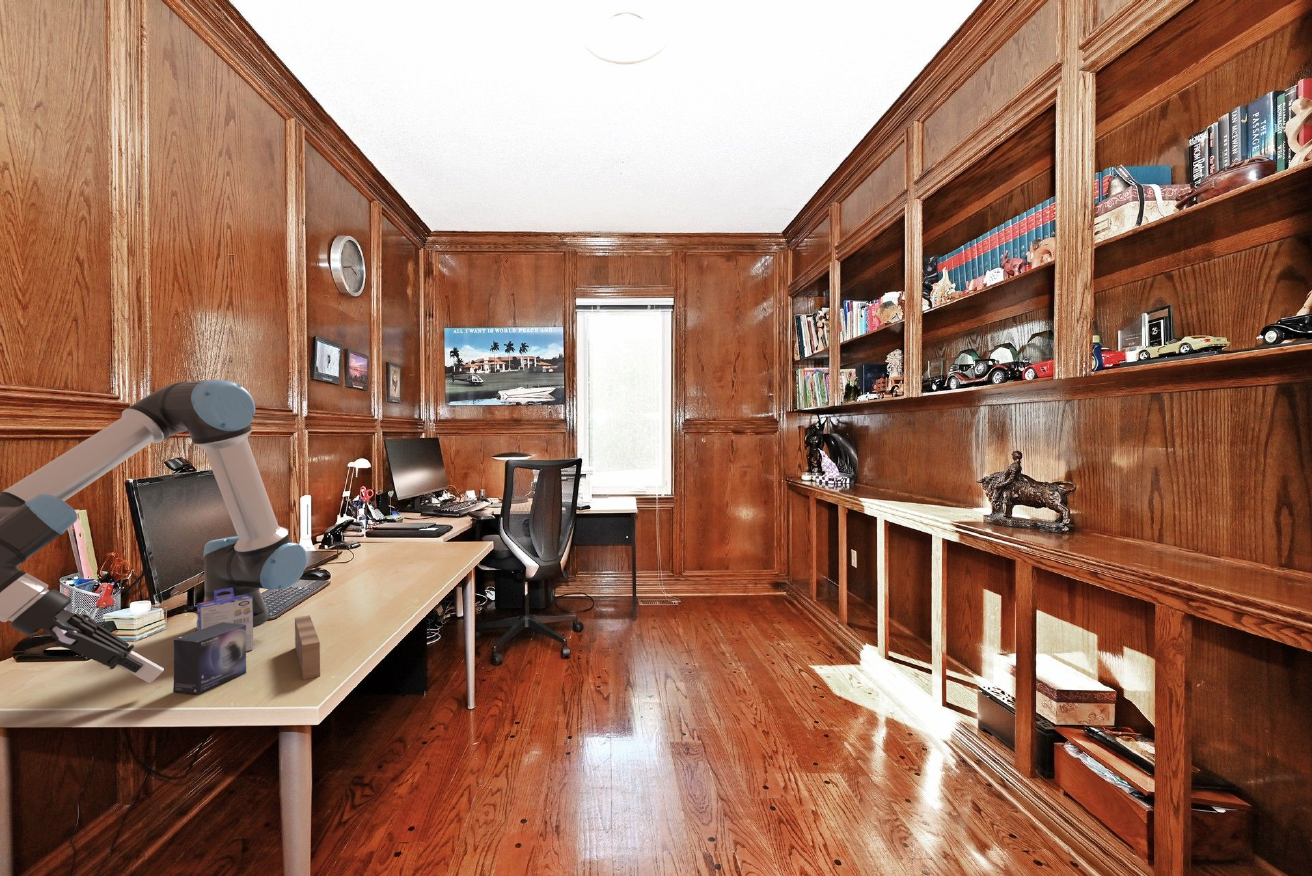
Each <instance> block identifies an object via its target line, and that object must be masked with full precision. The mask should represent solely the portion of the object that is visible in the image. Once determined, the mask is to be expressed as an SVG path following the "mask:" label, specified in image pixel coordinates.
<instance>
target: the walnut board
mask: <svg viewBox="0 0 1312 876" xmlns="http://www.w3.org/2000/svg"><path fill="white" fill-rule="evenodd" d="M294 642H295V643H294V645H295V646H294V647H295V652H296V657H297V660H298V663H299V668H300V672H301V677H302V680H303V681H304V680H308V678H309V679H314V678H318V677H321V646H320V644H321V642H320V639H319V637H318V634H317V630H316V629H315V626H314V623H313V620H312V617H311V615H303V616H296V617H294Z"/></svg>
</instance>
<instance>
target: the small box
mask: <svg viewBox="0 0 1312 876" xmlns="http://www.w3.org/2000/svg"><path fill="white" fill-rule="evenodd" d="M172 641H173V690H172V692H173V693H180V694H181V693H182V694H191V695H200V694H202V693H205V692H207V691H209V690H212V689H214V688H216V687H218V686H220V685H223V684H225V683H228V682H229V681H231V680H234V679H237V678H238V677H240V676H243V675H246V674H247V651H246V625H245V624H234V623H226V622H222V623H219V624H216V625H213V626H210V627H207V628H204V629H201V630H198V631H197V630H196V631H193V632H189V633H187V634H184V635H181V636H178V637H175V638H173V640H172Z"/></svg>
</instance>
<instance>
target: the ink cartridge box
mask: <svg viewBox="0 0 1312 876" xmlns="http://www.w3.org/2000/svg"><path fill="white" fill-rule="evenodd" d="M224 591H228V592H230V594H227V595H221V596H217V594H218V593H221V592H224ZM196 611H197V612H196V616H197V620H198V630H201V629H204V628H207V627H210V626H213V625H216V624H219V623H222V622H226V623H234V624H245V625H246V652H249V651H252V650H254V627H253V609H252V597H251V596H249V595H248V594H244V595H239V596H235V595H234V592H233V587H231V588H225V589H219V590H214V600H213V601H208V602H204V601H203V602H198V603H196Z"/></svg>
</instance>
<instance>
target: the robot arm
mask: <svg viewBox="0 0 1312 876" xmlns="http://www.w3.org/2000/svg"><path fill="white" fill-rule="evenodd" d="M254 415H256V405H255V402H254V399H253V397H252V395H251V393H250V392H249V391H248V390H247V389H245V388H244V387H243V386H242V385H239V384H238V383H236V382H234V381H230V380H219V379H206V380H196V381H179V382H174V383H170V384H168V385H166V386H163V387H161V388H159V389H157V390H155V391H154V392H152V393H150V394H148V395H147V396H145V397H144V398H142V399H140V400H139V401H137V402H135V403H133V404H131V406H129V407H127V408H125V409H123V411H122V412H121V418H119V419H117V420H116V421H114V422H112V423H111V424H110V425H108V426H106V427H104V428H103V429H101V430H99V431H98V432H96V433H95V434H93V435H91V436H90V437H89V438H86V439H85V440H84V441H81V442H80V443H78V444H77V445H75V446H74V447H72V448H71V449H69V450H67V451H66V452H64V453H62V454H60V455H59V456H58V457H56V458H54V459H53V460H51V461H49V462H48V463H46V464H44V465H43V466H41V467H40V468H38V469H37V470H35V471H33V472H32V473H29V474H28V475H26V476H25V477H23V478H22V479H20V480H19V481H17V482H16V483H14V484H12V485H11V486H9V487H7V488H6V489H4V490H3V491H1V492H0V622H2V623H6V622H8V621H10V622H11V623H10V624H9V627H11V628H12V629H15V630H16V631H17V632H20V633H22V634H24V635H25V636H28V637H30V636H33V635H35V634H36V633H37V632H38V631H39V630H44V631H45V632H47V633H48V634H49V635H50V638H52V639H54V640H55V642H54V645H55V646H57V647H60V648H63V649H66V650H70V651H72V652H74V653H77V654H79V655H82V656H83V657H86V658H88V659H91V660H93V661H94V662H97V663H99V664H102V665H104V666H106V667H109V668H108V669H109V670H114V668H116V667H118V668H120V669H123V670H124V671H126V672H128V673H130V674H131V675H133V676H136V677H137V678H139V679H141V680H143V681H145V682H146V683H148V684H152V683H153V682H154V680H156V679H157V678H158V677H159V676H160V675H161V674H162V673H163V672H164V669H165V668H164V667H162V666H160V665H158V664H157V663H155V662H153V661H151V660H150V659H147V658H146V657H144V656H142V655H141V654H139V653H137V652H135V651H133V649H134V648H135V647H136V645H134V644H133V643H132V644H129V643H128V642H127V641H125V640H123V639H122V638H120V637H118V635H116V634H114V633H113V632H111V631H110V630H108V629H107V628H105V626H104V627H103V626H102V625H101V624H99V623H98V622H97V621H95V620H94V619H92V618H91V617H90V616H89V615H88V614H85V613H83V614H80V613H77V612H75V613H74V612H72V611H68V610H66V609H65V608H67V606H69V605H70V604H71V603H72V602H73V601H72V598H71V597H70V596H68V595H66V594H64V593H63V592H61V591H59V590H57V589H51V590H49V589H48V588H49V584H47V583H46V582H44V581H42V580H41V579H39V578H36V577H35V576H33V575H31V574H30V573H28V572H26V571H24V570H22V569H21V568H19V566H21V565H22V564H24V563H25V562H27V561H28V560H29V559H30V558H31V557H32V556H34V555H35V554H37V553H38V552H39V551H40V550H42V549H43V548H45V547H46V546H47V545H49V544H50V543H51V542H53V541H55V539H57V538H58V537H59V536H61V535H63V534H64V533H65V532H66V531H67V530H68V529H69V528H70V527H72V526H73V525H74V524H75V523H76V522H77V521H78V518H79V516H78V513H77V512H76V510H75V509H74V508H73V507H72V506H71V505H70V504H68V503H67V502H66V501H67V500H69V499H70V498H71V497H73V496H74V495H76V494H78V493H79V492H81V491H82V490H83V489H85V488H86V487H88V486H89V485H91V484H92V483H94V482H95V481H97V480H98V479H100V478H101V477H103V476H104V475H105V474H107V473H109V472H110V471H112V470H113V469H115V468H116V467H117V466H119V465H120V464H122V463H124V462H125V461H126V460H128V459H129V458H131V457H132V456H134V455H135V454H137V453H138V452H139V451H142V450H143V449H144V448H145V447H148V446H149V445H150V444H160V443H162V442H163V441H165V440H166V439H168V438H170V437H171V436H173V435H176V434H180V433H185V432H188V434H189V436H190V439H191V441H192V443H193V445H194V446H196V447H199V448H201V449H203V450H204V452H205V455H206V457H207V459H208V462H209V463H208V464H209V465H210V468H211V470H212V472H213V476H214V478H215V480H216V483H217V485H218V490H219V491H220V493H221V495H222V496H221V497H222V499H223V502H224V504H225V506H226V509H227V512H228V514H229V517H230V520H231V522H232V524H233V528H234V530H235V533H236V534H237V535H236V536H229V537H224V538H219V539H218V538H217V539H212V540H209V541H208V542H206V543H205V545H204V547H203V555H202V558H203V571H204V572H203V575H204V578H203V579H204V601H203V602H208V601H213V600H214V590H219V589H225V588H231V587H233V592H234V595H235V596H239V595H244V594H248V595H249V596H251V597H252V609H253V628H254V627H256V626H259V625H262V624H263V623H265V622H267V621H268V619H269V610H268V607H267V605H266V603H265V600H264V599H263V596H262V594H261V589H264V590H268V591H273V590H283V589H288V588H290V587H291V586H293V585H295V584H296V583H297V582H298V581H299V580H300V578H302V576H303V574H304V571H305V570H306V568H307V565H308V555H307V554H308V553H307V551H306V549H305V548H304V546H302V545H300V544H299V543H296V542H292V539H291V537H290V533H289V530H288V529H287V528H285V527H282V526H279V524H278V521H277V518H276V517H277V516H276V514H275V512H274V509H273V506H272V503H271V501H270V498H269V494H268V493H267V491H266V487H265V484H264V482H263V479H262V476H261V473H260V471H259V467H258V465H257V462H256V459H255V456H254V454H253V452H252V448H251V445H250V442H249V439H248V438H249V436H250V435H251V433H252V432H253V429H252V426H251V423H252V422H253V420H254V417H253V416H254ZM227 594H230V592H228V591H224V592H221V593H218V594H217V596H221V595H227ZM196 631H198V619H197V620H196Z"/></svg>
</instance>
